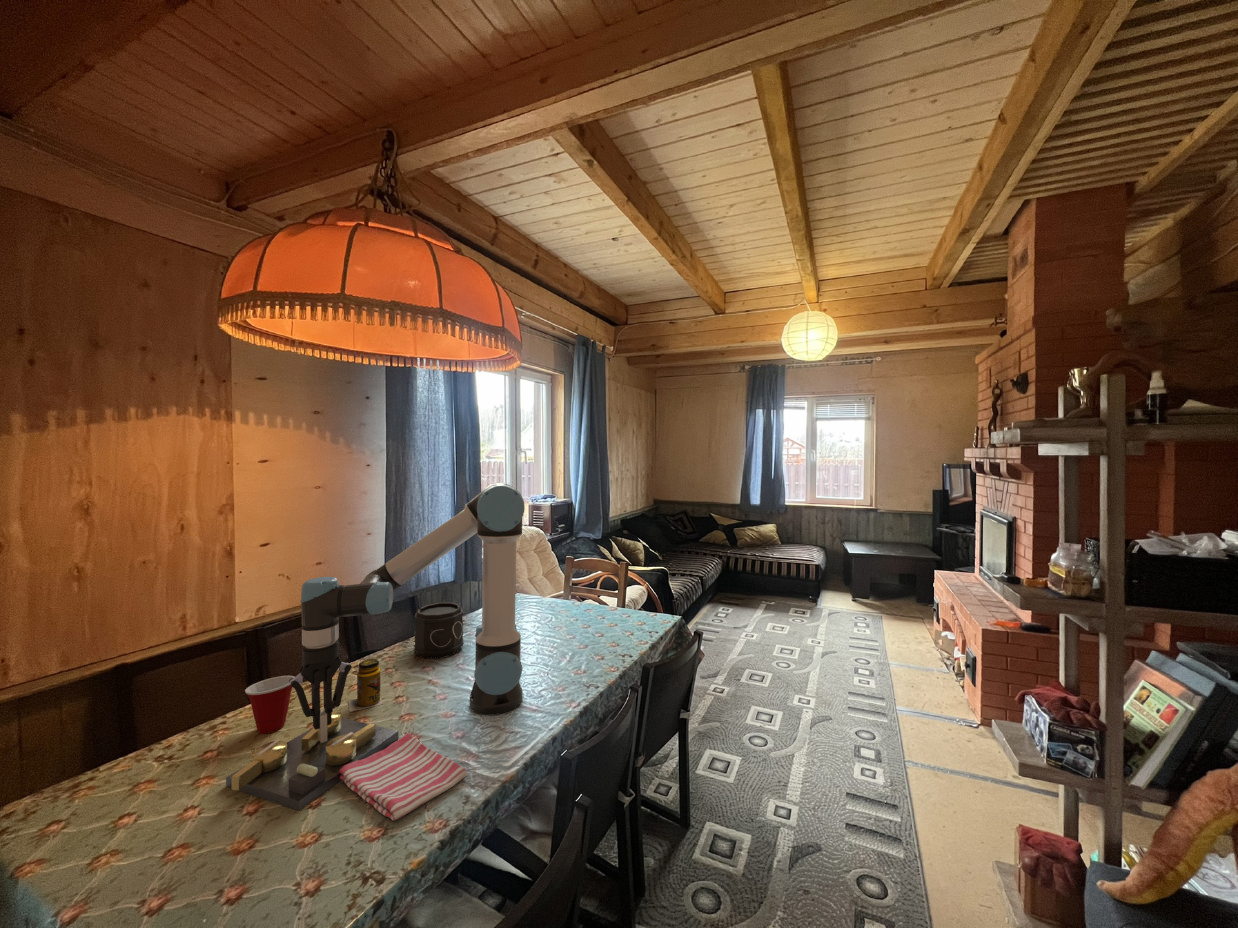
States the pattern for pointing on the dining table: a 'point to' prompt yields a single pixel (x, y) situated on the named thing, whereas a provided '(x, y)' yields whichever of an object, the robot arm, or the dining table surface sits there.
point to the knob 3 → (347, 745)
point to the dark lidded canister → (438, 630)
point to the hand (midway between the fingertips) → (322, 739)
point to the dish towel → (401, 777)
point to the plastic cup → (270, 703)
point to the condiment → (367, 686)
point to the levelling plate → (277, 780)
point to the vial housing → (306, 778)
